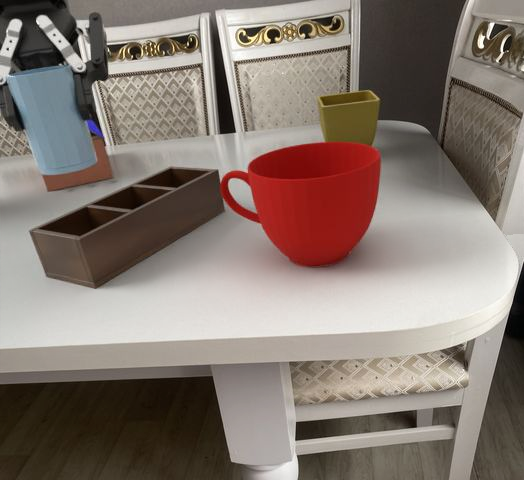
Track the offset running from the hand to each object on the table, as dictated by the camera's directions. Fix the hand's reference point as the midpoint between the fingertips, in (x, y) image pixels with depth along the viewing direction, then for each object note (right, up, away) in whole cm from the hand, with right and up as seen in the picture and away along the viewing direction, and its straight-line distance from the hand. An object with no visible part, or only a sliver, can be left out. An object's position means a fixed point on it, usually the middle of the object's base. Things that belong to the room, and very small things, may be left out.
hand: (51, 120), depth 51 cm
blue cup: (0, -3, +4) cm, 5 cm away
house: (-15, +11, +49) cm, 52 cm away
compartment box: (+6, -9, +15) cm, 18 cm away
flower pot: (+35, +10, +36) cm, 51 cm away
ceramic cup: (+25, -12, +7) cm, 28 cm away
